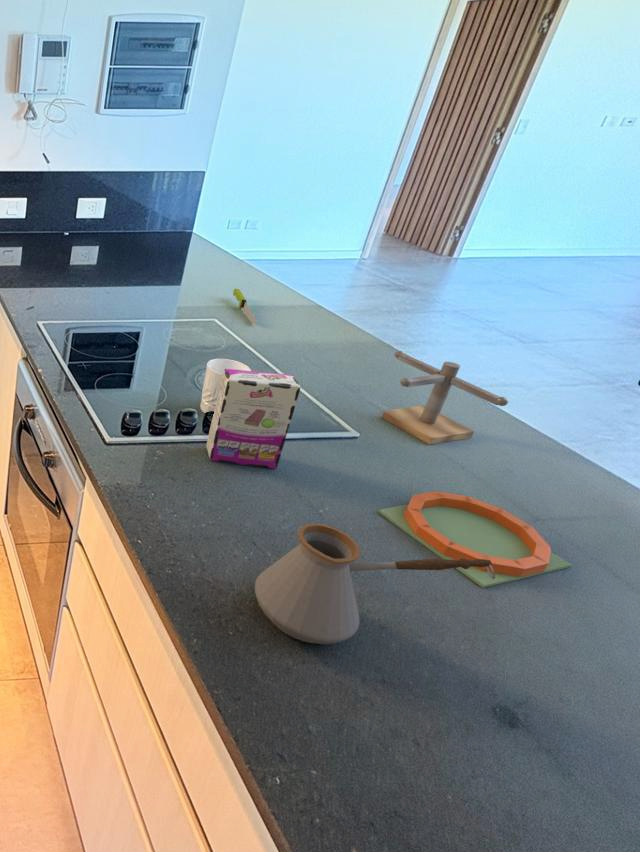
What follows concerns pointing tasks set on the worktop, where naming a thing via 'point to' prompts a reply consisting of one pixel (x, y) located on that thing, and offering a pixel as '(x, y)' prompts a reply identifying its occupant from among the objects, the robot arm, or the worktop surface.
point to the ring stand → (435, 403)
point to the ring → (507, 520)
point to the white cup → (216, 380)
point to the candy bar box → (252, 417)
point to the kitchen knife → (244, 305)
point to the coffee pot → (326, 584)
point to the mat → (473, 539)
